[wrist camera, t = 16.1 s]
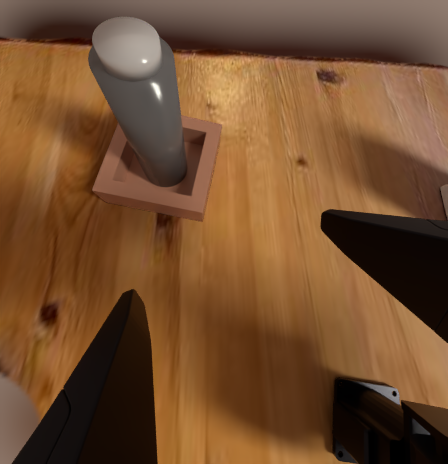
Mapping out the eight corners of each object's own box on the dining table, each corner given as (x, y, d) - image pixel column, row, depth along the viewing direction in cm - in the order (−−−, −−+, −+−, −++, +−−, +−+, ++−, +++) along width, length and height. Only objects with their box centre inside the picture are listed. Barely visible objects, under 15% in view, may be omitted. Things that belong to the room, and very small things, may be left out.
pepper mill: (191, 154, 25) (180, 21, 12) (182, 191, 23) (159, 83, 11) (150, 145, 24) (96, -1, 12) (138, 182, 23) (64, 60, 11)
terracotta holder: (219, 142, 26) (222, 124, 23) (202, 221, 23) (202, 212, 20) (134, 123, 26) (126, 102, 23) (105, 202, 23) (91, 190, 20)
